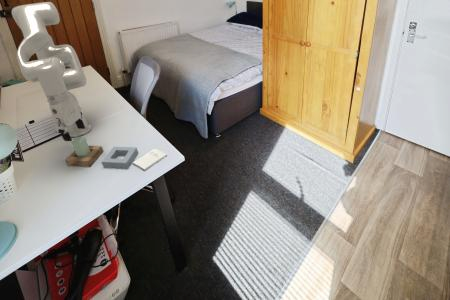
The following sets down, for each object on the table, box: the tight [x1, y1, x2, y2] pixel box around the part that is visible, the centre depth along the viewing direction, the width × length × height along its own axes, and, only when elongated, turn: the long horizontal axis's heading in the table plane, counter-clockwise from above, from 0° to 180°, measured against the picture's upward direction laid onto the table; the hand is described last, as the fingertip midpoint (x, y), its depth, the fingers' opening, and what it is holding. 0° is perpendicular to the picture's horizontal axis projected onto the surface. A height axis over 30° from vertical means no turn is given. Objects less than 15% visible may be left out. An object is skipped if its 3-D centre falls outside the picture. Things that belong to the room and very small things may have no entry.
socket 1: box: [65, 145, 104, 168], centre depth 124 cm, size 11×11×3 cm
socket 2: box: [101, 146, 139, 170], centre depth 121 cm, size 11×11×3 cm
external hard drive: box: [131, 148, 168, 172], centre depth 121 cm, size 2×8×12 cm
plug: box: [70, 136, 91, 157], centre depth 122 cm, size 4×4×10 cm
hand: (75, 134), depth 117 cm, fingers open, 9 cm apart
